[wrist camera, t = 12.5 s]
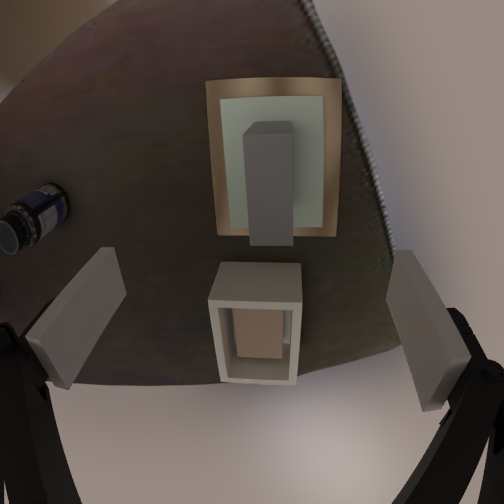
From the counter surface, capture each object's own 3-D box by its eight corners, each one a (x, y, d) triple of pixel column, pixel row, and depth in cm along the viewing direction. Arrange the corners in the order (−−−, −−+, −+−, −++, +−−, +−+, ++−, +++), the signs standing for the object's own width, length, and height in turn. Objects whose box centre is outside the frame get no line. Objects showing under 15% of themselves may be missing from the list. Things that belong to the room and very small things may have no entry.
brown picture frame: (218, 233, 39) (217, 235, 39) (206, 81, 31) (205, 80, 30) (335, 234, 38) (335, 236, 37) (340, 79, 29) (341, 78, 29)
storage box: (229, 341, 48) (220, 381, 41) (221, 261, 41) (207, 299, 34) (296, 343, 47) (295, 385, 40) (300, 262, 40) (302, 302, 33)
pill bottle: (33, 197, 40) (-16, 230, 30) (52, 173, 38) (-1, 204, 28) (56, 229, 42) (11, 267, 32) (77, 207, 40) (29, 245, 30)
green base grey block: (233, 220, 38) (214, 271, 28) (223, 98, 31) (195, 105, 22) (320, 219, 37) (331, 271, 27) (320, 95, 30) (336, 99, 20)
